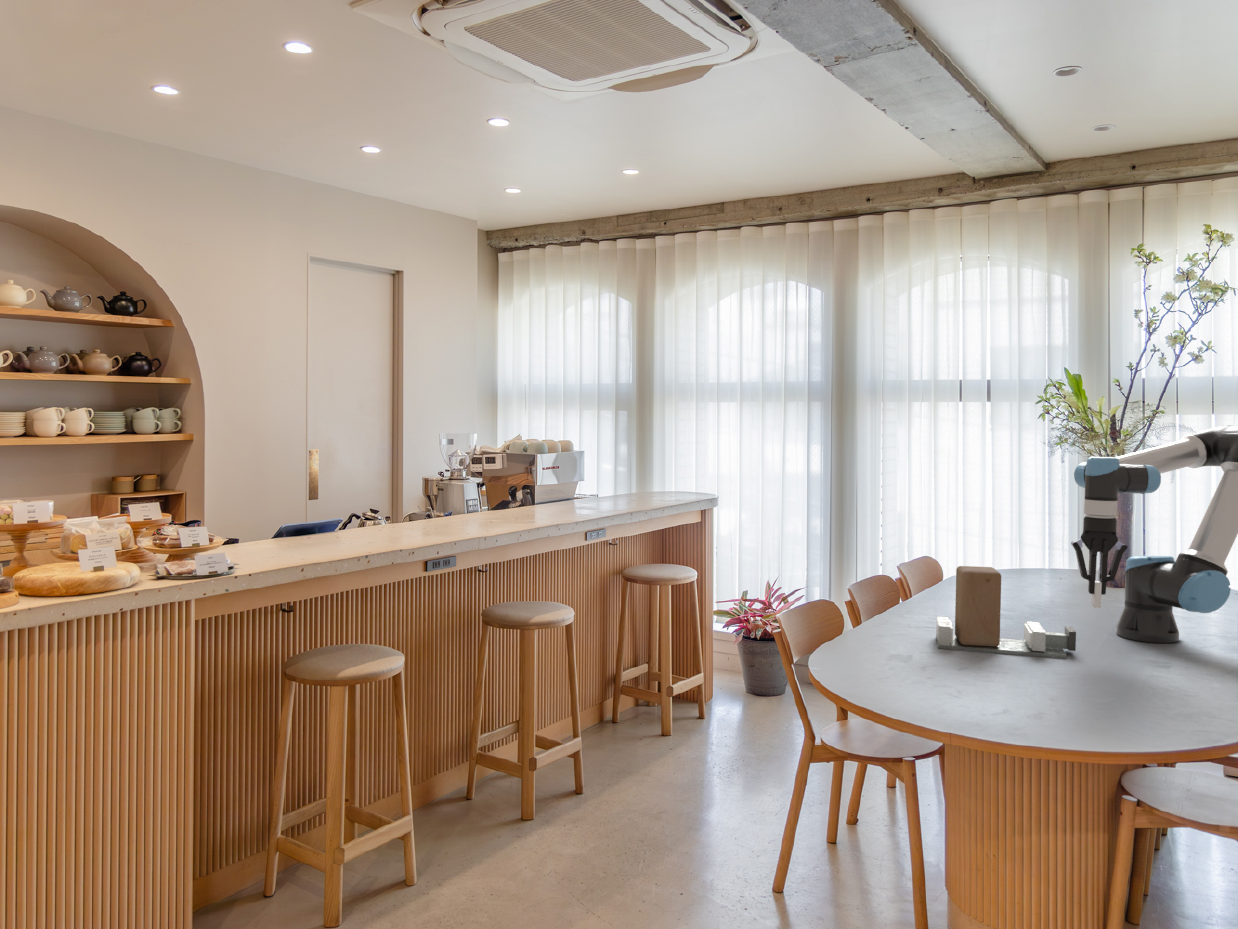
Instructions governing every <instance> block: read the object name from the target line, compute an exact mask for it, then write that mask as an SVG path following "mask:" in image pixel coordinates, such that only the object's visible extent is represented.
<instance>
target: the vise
mask: <svg viewBox="0 0 1238 929" xmlns="http://www.w3.org/2000/svg"><path fill="white" fill-rule="evenodd" d="M935 633H936V636H935V639H936V644H937V648H938V650H947V651H948V650H950V651H951V650H952V651H961V652H963V651H964V652H975V653H977V652H978V653H986V654H987V653H989V654H990V653H991V654H1001V655H1013V656H1014V655H1016V656H1025V657H1026V656H1028V657H1029V656H1030V657H1038V658H1039V657H1040V658H1041V657H1042V658H1052V659H1053V658H1054V659H1066V660H1067V659H1068V657H1067V656H1068V654H1067V653H1066V652H1065V649H1058V648H1045V652H1044V651H1032V649H1031V648H1029V646H1028V644H1027V643H1026V641H1025V639H1015V638H1014V639H1013V638H1011V639H1010V638H1000V644H999V646H996V647H990V646H972V645H962V644H961V643H960V642H959V640H958V639H957V637H956V636H955V634H953V633H954V626H953V623H952V620H951V619H949V616H948V617H947V616H936V632H935Z"/></svg>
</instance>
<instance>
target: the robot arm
mask: <svg viewBox="0 0 1238 929" xmlns="http://www.w3.org/2000/svg"><path fill="white" fill-rule="evenodd" d="M1201 467H1220V468H1221V470H1222V471H1223V475H1222V477H1221V479H1220V482H1219V483H1218V485H1217V487H1216V490H1215V491H1214V494H1213V497H1212V498H1211V500H1210V503H1209V505H1208V507H1207V509H1206V511H1205V512H1204V516H1203V517H1202V519H1201V522H1200V524H1199V526H1198V528H1197V529H1196V530H1197V531H1196V532H1195V534H1194V537H1193V539H1192V541H1191V543H1190V545H1189V547H1188V549H1187V550H1186V551H1183V552H1180V553H1178V555H1177V557H1176V559H1175V558H1174V557H1173V556H1172V555H1170V556H1169V555H1168V556H1167V555H1136V556H1130V557H1128V558H1127V559H1126V563H1125V569H1124V607H1123V610H1122V612H1121V615H1120V618H1119V620H1118V621H1117V625H1116V635H1118V636H1119V637H1123V638H1125V639H1129V640H1133V641H1138V642H1146V643H1156V644H1169V643H1177V642H1179V640H1180V631H1179V628H1178V625H1177V622H1176V619H1175V616H1174V612H1173V608H1177V609H1181V610H1186V611H1188V612H1191V613H1200V614H1211V613H1212V612H1216V611H1218V610H1219V609H1221V608H1222V607H1223V606H1224V605H1225V604H1226V602H1227V601H1228V599H1229V597H1230V595H1231V590H1232V589H1231V587H1230V585H1231V582H1230V579H1229V578H1228V577H1227V574H1228V569H1227V567H1226V565H1225V562H1226V560H1227V558H1228V556H1229V554H1230V551H1231V549H1232V548H1233V545H1234V544H1235V541H1236V538H1237V537H1238V425H1221V426H1216V427H1212V428H1209V429H1204V430H1200V431H1197V432H1194V433H1190V434H1186V435H1184V436H1182V437H1180V438H1179V439H1178V441H1173V442H1169V443H1166V444H1162V445H1158V446H1155V447H1151V448H1147V449H1143V450H1138V451H1134V452H1131V453H1127V454H1124V455H1119V456H1114V457H1113V456H1089V457H1088V458H1087V460H1086V461H1083V462H1081V463H1079V464H1078V465H1077V466H1076V467H1075V470H1074V472H1073V478H1074V481H1075V484H1076V485H1078V487H1081V488H1082V489H1084V504H1083V506H1084V507H1083V514H1084V515H1086V516H1084V517H1083V525H1082V526H1083V530H1082V533H1081V535H1080V538H1079V539H1077V540H1075V541H1074V540H1072V541H1071V543H1070V544H1071V546H1072V547H1073V549H1074V551H1075V555H1076V559H1077V563H1078V568H1079V569H1078V570H1079V573H1080V577H1081V578H1083V579H1084V580H1087V581H1088V593H1089V594H1091V595H1092V597H1091V598H1092V600H1091V604H1092V605H1091V606H1092V607H1093V608H1095V609H1096V608H1098V609H1099V608H1100V609H1101V607H1102V596H1103V595H1106V594H1107V593H1106V592H1107V583H1108V582H1110V581H1113V582H1114V580H1116V575H1117V572H1118V569H1119V566H1120V563H1121V560H1122V557H1123V554H1124V553H1125V552H1126V551H1127V550H1128V547H1129V546H1128V545H1126V544H1125V543H1123V542H1121V541H1120V540H1119V537H1118V536H1117V526H1118V525H1117V522H1118V519H1117V517H1116V516H1118V499H1119V498H1118V497H1119V494H1141V495H1145V494H1151V493H1152V494H1153V493H1155V492H1156V491H1157V490H1158V489H1159V487H1160V486H1161V482H1162V479H1161V478H1162V476H1161V474H1164V473H1169V472H1172V471H1176V470H1180V469H1184V468H1191V469H1199V468H1201ZM1083 545H1084V546H1085V547H1086V548H1087V549H1088V552H1089V553H1088V554H1089V556H1088V557H1089V559H1088V560H1089V561H1088V570H1087V568H1086V563H1085V558H1084V554H1083V549H1082V548H1083V547H1084V546H1083ZM1114 547H1115V549H1116V550H1115V551H1114V554H1113V558H1112V560H1111V564H1110V567H1109V569H1108V559H1109V558H1108V557H1109V552H1110V551H1111V550H1112V549H1113V548H1114ZM1098 553H1099V555H1100V558H1099V559H1100V560H1099V580H1096V576H1097V556H1098Z"/></svg>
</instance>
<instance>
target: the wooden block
mask: <svg viewBox="0 0 1238 929" xmlns="http://www.w3.org/2000/svg"><path fill="white" fill-rule="evenodd" d="M955 570H956V571H955V611H954V612H955V613H954V614H955V616H954V635H955V636H956V637H957V639H958V640H959V642H960V643H961V644H962V645H972V646H990V647H996V646H999V644H1000V637H1001V610H1002V609H1001V604H1002V603H1001V601H1002V600H1001V599H1002V574H1001V573H1000V572H999V571H998V570H997V569H995V568H994V567H992V566H969V565H968V566H966V565H959V566H957V567H956V569H955Z"/></svg>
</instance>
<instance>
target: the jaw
mask: <svg viewBox="0 0 1238 929" xmlns="http://www.w3.org/2000/svg"><path fill="white" fill-rule="evenodd" d="M1025 622H1026V623H1023V640H1025V641H1026V643H1027V644H1028V646H1029V648H1031V649H1032V651H1044V652H1045V648H1058V649H1063V650H1067V651H1071V652H1076V649H1077V648H1076V646H1077V638H1076V637H1077V632H1076V630H1075V629H1074V628H1073V626H1066V625H1065V626H1064V632H1055V631H1053V632H1051V631H1045V629H1044V628H1043V627H1042V626H1041V623H1040V622H1037V621H1025Z"/></svg>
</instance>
